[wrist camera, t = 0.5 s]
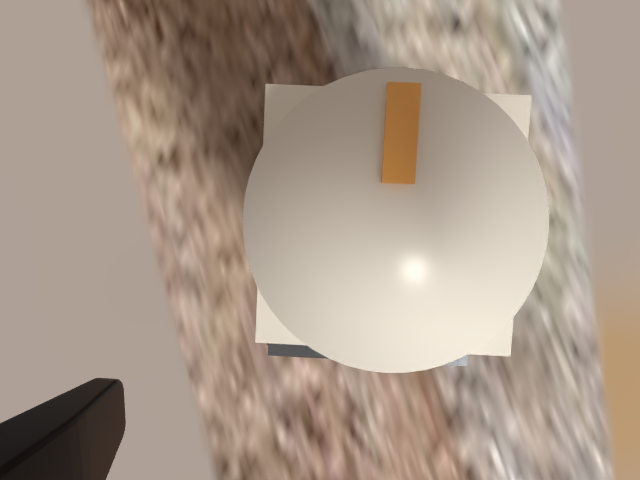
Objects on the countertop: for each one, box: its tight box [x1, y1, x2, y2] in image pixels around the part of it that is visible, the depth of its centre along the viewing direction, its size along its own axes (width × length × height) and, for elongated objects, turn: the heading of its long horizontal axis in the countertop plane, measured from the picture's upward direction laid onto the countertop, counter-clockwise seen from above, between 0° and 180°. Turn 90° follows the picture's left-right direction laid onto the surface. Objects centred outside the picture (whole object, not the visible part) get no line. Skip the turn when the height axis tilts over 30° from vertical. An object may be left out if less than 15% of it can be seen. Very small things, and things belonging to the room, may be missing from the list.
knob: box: [243, 67, 549, 373], centre depth 15 cm, size 8×8×7 cm
